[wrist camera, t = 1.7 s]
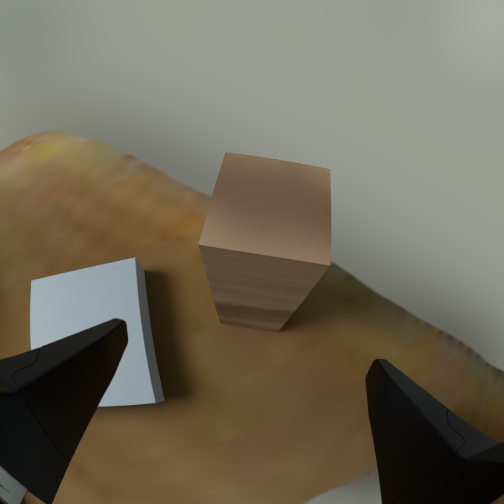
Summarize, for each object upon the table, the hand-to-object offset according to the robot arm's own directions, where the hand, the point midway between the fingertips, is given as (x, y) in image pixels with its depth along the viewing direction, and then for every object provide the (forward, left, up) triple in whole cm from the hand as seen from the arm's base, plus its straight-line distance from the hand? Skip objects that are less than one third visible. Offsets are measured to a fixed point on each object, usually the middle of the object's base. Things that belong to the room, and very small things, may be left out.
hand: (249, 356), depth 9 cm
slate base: (+4, +12, -12) cm, 17 cm away
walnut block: (+5, -2, -12) cm, 13 cm away
